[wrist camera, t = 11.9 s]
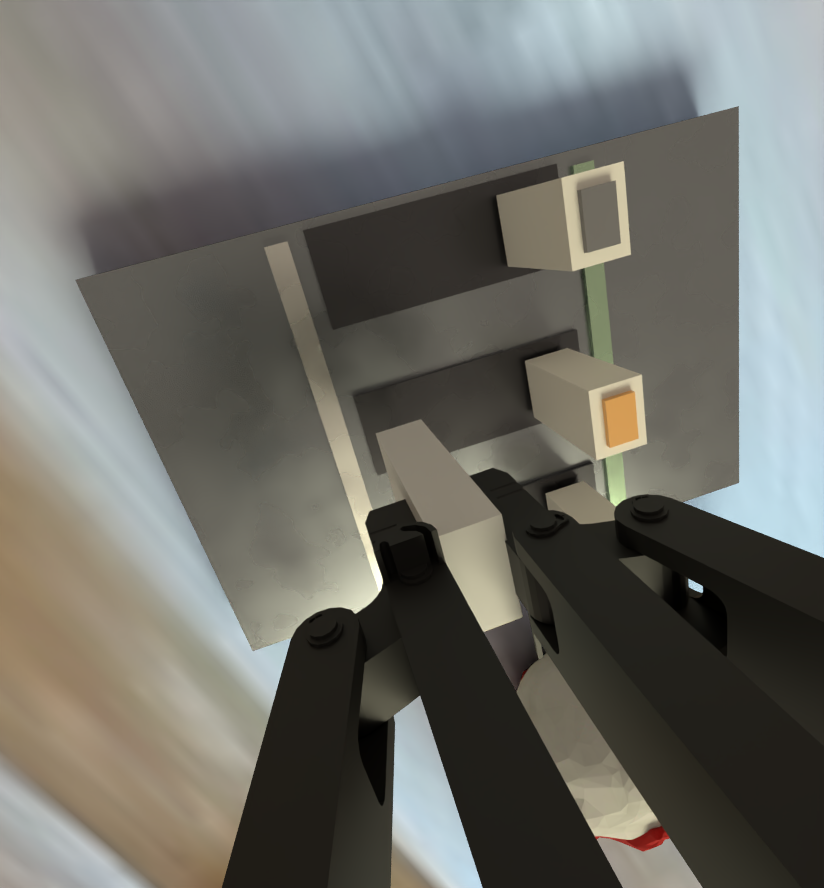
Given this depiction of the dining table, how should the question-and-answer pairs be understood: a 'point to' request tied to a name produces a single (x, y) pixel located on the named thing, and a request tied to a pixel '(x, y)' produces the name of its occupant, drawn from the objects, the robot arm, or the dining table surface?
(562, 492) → the breaker far
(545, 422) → the breaker mid
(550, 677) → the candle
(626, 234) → the breaker near
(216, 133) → the dining table surface
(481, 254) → the panel
